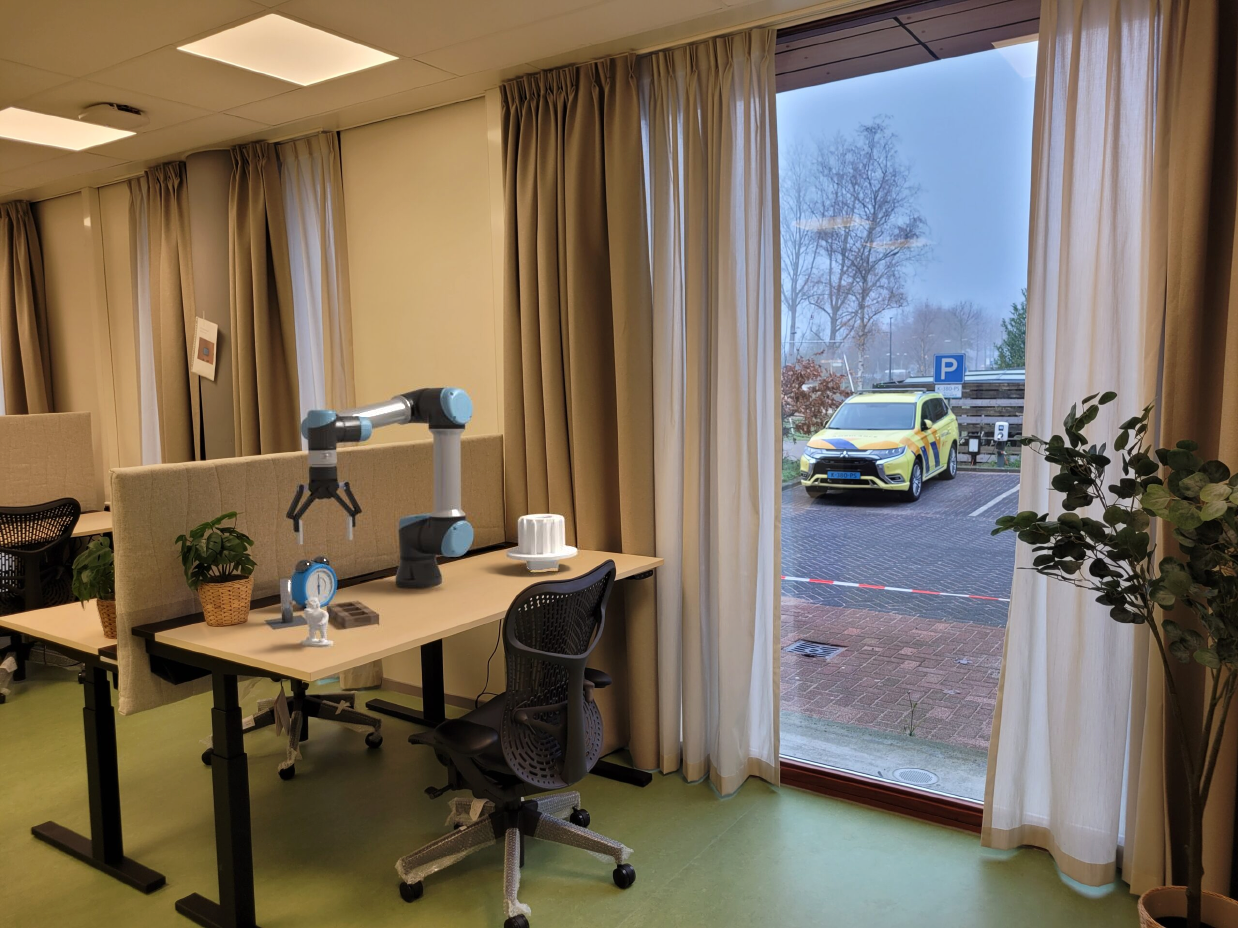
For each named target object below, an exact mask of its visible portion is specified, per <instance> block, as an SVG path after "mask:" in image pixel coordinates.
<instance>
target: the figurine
mask: <svg viewBox="0 0 1238 928" xmlns="http://www.w3.org/2000/svg"><path fill="white" fill-rule="evenodd" d="M305 603H307V606H306V608H304V609H303V610H304V612H303V614H304V618H305V619H306V621H307V624H308V628H309V629H308V631H309V632H308V633H309V636H307V637H306V638H305V639H302V640H300V644H301V645H303V646H306V647H307V646H309V647H316V648H327V647H332V646H333V645H334V641H333V640H329V639H327V637H328V636H327V629H328V627H329V617H330V616H329V615H328V613H327V610H324V609H321V607H320V604H319V602H318V598H317V597H313V598H309V599H308V600H306V601H305ZM317 631H318V632H319V634H320V638H316V637H317V633H316V632H317Z"/></svg>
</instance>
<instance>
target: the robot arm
mask: <svg viewBox="0 0 1238 928" xmlns="http://www.w3.org/2000/svg"><path fill="white" fill-rule="evenodd" d="M473 412H474V407H473V402H472V399H471V397H470V396H469V394H468V393H467V392H466V391H465V390H463V389H462V388H460V387H459V388H458V387H451V386H448V387H447V386H446V387H425V388H418V389H415V390H412V391H408V392H404V393H401V394H397V395H393V396H392V397H391V399H389V400H385V401H381V402H376V403H371V404H366V405H361V406H357V407H354V408H349V409H345V410H344V409H343V410H339V411H335V410H334V409H311V410H309V411H308V412H307V414H306V415H307V416H306V417H305V418H304V419H303V420H302V422H301V424H300V433H301V435H302V437H303V438H304V439H305V440H306V441H307V449H308V450H307V456H308V457H307V458H308V459H307V461H308V465H310V466H309V467H308V481H309V482H308V483H307V484H303V483H298V484H296V493H295V495H294V497H293V499H292V501H291V503H290V506H289V507H288V510H287V513H286V514H285V518H286V519H289V520H292V523H293V533H297V544H298V545H299V546H300V545H304V533H303V530H304V529H303V520H301V518H302V516H303V515H304V514H305V513H306V512H307V510H308V509H309V508H310V507H311V505H312V504H313V503H314V502H316V500H324V499H326V500H330V499H334V500H335V501H336V503H338V505H339V506H341V508H342V509H343V510H344V511H345V512H346V513H347V515H346V517H345V519H346V521H345V522H346V539H347V540H349V541H352V540H354V539H353V535H354V534H353V528H355V527H356V524H357V523H356V516H357V515H359V514H362V513H363V510H362V508H361V506H360V505H359V503H358V501H357V499H356V497H355V495H354V493H353V492H352V489H351V485H350V482H349V481H346V480H344V481H342V482H339V481H338V466H337V465H336V464H337V463H338V460H337V459H338V458H337V456H338V455H337V452H338V451H337V450H338V447H337V446H338V445H337V444H340V443H342V444H343V443H344V444H346V443H361V442H366V441H368V440H370V438H371V437H372V433H373V430H374V429H379V428H382V427H387V426H390V425H394V424H397V425H403V426H404V425H407V424H408V425H409V424H427V426H428V431H429V432H430V433H431V435H432V437H433V439H432V441H433V448H432V449H433V510H432V511H431V512H430V513H429V512H428V513H422V514H421V513H420V514H419V513H418V514H412V515H407V516H403V517H401V518H400V519H399V520H398V529H397V531H398V547H399V548H398V549H399V564H398V567H397V571H396V575H395V579H394V580H395V581H394V582H395V586H396V587H398V588H402V589H423V588H430V587H436V586H439V585H441V584H442V583H443V575H442V573H441V570H440V567H439V564H438V562H437V556H441V557H447V558H450V557H454V558H456V557H461V556H463V555H464V554H466V553H467V551H469V549H470V548H471V546H472V543H473V541H474V535H475V534H474V528H473V527H472V525H471V523H469V522H468V521H467V515H466V512H464V511H463V510H462V499H461V498H462V483H461V482H462V480H461V479H462V466H461V464H462V463H461V462H462V461H461V457H462V455H461V454H462V453H461V452H462V451H461V450H462V449H461V445H462V443H461V442H462V441H461V436H462V434H463V433H464V432H465V431H466V424H468V423H469V422H470V421H471V419H472V417H473V414H474V413H473ZM340 488H341V489H340ZM339 489H340V490H343V492H344V494H345V496H346V497H347V499H348V501H349V503H350V505H351V507H352V508H353V509H352V508H351V507H350V505H348V503H347V502H346V501H345V500H344V499H343V498H342V496H340V494H339V493H338V492H337V491H338V490H339ZM307 490H308V491H309V492H310V494H308V496H307V498H306V499H305V500H304V502H303V503H302V504H301V506H300V507H299V508H298V506H299V504H300V502H301V500H302V497H303V495H304V493H305V492H306V491H307ZM297 508H298V510H297ZM296 510H297V511H296Z"/></svg>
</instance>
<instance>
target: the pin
mask: <svg viewBox="0 0 1238 928" xmlns="http://www.w3.org/2000/svg"><path fill="white" fill-rule="evenodd" d="M279 585H280V586H279V587H280V589H279V591H280V611H281V612H280V613H281V618H282V623H292V622H293V616H294V608H293V607H294V605H293V604H294V603H293V598H292V580H291V578H280V579H279Z"/></svg>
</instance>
